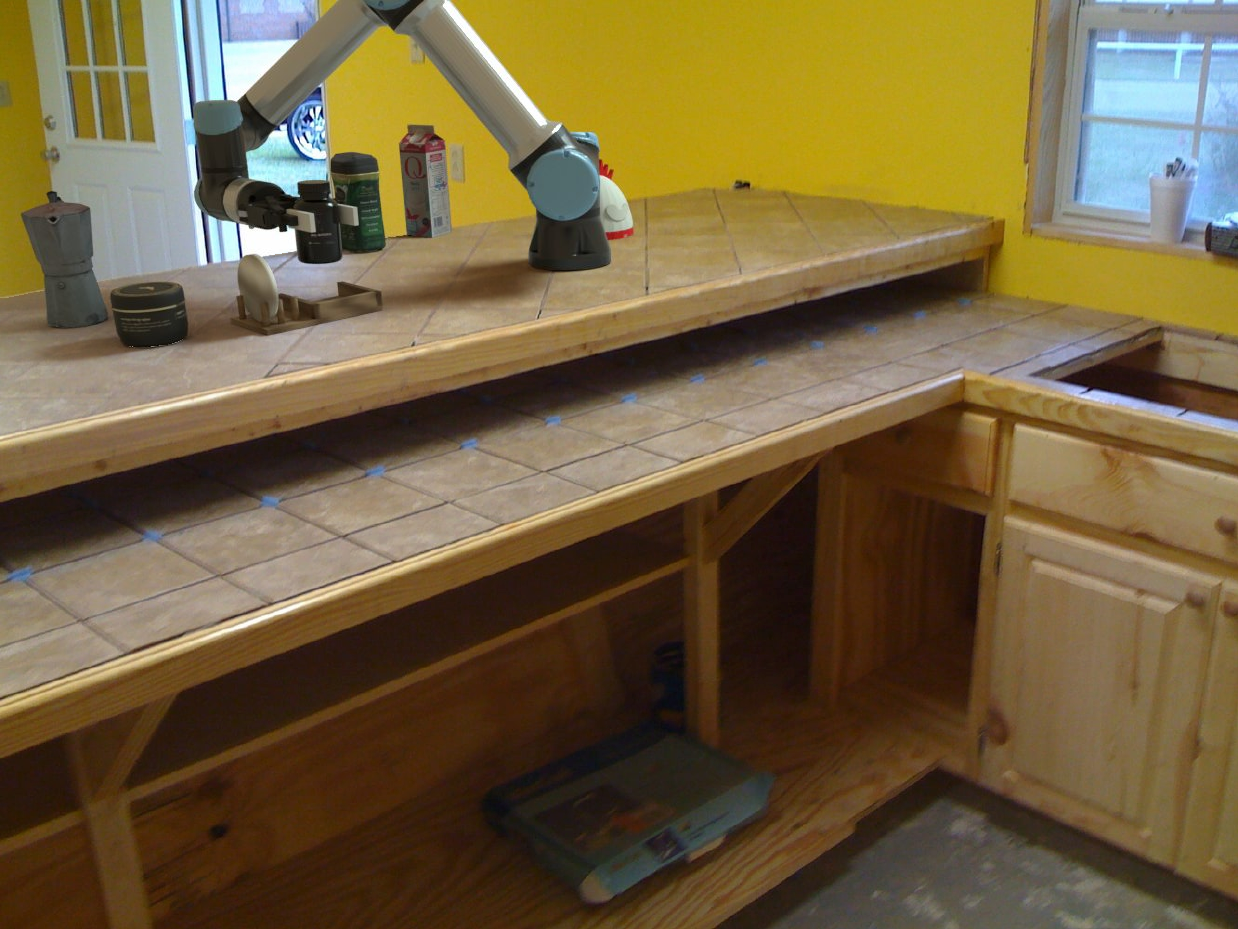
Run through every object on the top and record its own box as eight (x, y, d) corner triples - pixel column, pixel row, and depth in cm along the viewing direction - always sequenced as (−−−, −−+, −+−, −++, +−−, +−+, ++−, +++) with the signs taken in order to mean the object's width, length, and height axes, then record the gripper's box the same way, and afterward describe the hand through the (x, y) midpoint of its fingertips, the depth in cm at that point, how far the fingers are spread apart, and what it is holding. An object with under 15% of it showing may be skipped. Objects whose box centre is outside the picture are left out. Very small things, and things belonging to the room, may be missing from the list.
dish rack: (344, 299, 194) (337, 233, 190) (382, 310, 186) (376, 241, 183) (231, 323, 181) (221, 252, 177) (267, 335, 173) (258, 261, 170)
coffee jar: (393, 249, 233) (384, 152, 226) (356, 255, 228) (346, 156, 222) (368, 243, 240) (359, 148, 233) (332, 248, 235) (322, 152, 228)
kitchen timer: (552, 235, 244) (548, 160, 239) (601, 226, 253) (599, 153, 247) (597, 243, 235) (594, 165, 229) (647, 233, 243) (646, 158, 238)
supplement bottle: (320, 266, 179) (312, 185, 175) (288, 262, 183) (279, 182, 178) (353, 258, 185) (345, 179, 180) (321, 254, 188) (312, 177, 184)
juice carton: (432, 237, 244) (423, 126, 236) (406, 235, 247) (397, 125, 239) (451, 232, 249) (443, 123, 241) (426, 230, 252) (417, 122, 244)
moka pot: (42, 336, 176) (14, 199, 169) (44, 313, 189) (18, 185, 182) (111, 328, 179) (87, 193, 172) (108, 306, 193) (85, 181, 185)
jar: (137, 331, 178) (129, 280, 175) (202, 331, 177) (194, 280, 174) (105, 349, 168) (95, 296, 166) (173, 349, 167) (164, 296, 165)
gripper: (313, 219, 201) (391, 235, 186) (203, 235, 188) (278, 254, 173) (308, 174, 198) (387, 186, 183) (196, 187, 185) (272, 202, 170)
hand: (334, 219), depth 178 cm, fingers closed on supplement bottle, 7 cm apart
